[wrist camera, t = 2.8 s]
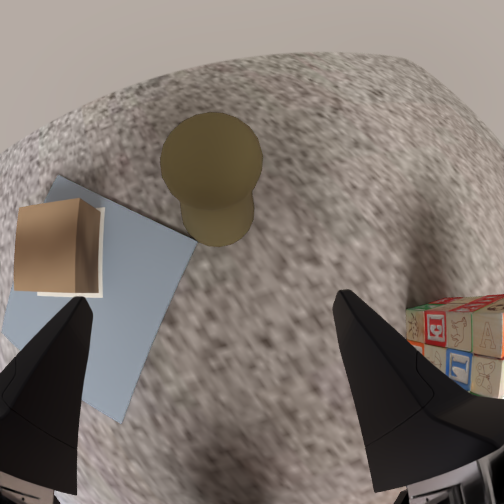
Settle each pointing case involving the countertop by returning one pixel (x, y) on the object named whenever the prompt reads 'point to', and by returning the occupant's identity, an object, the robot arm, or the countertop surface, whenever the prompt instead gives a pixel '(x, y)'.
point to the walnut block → (57, 247)
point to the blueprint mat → (112, 298)
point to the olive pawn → (213, 176)
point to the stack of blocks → (463, 340)
